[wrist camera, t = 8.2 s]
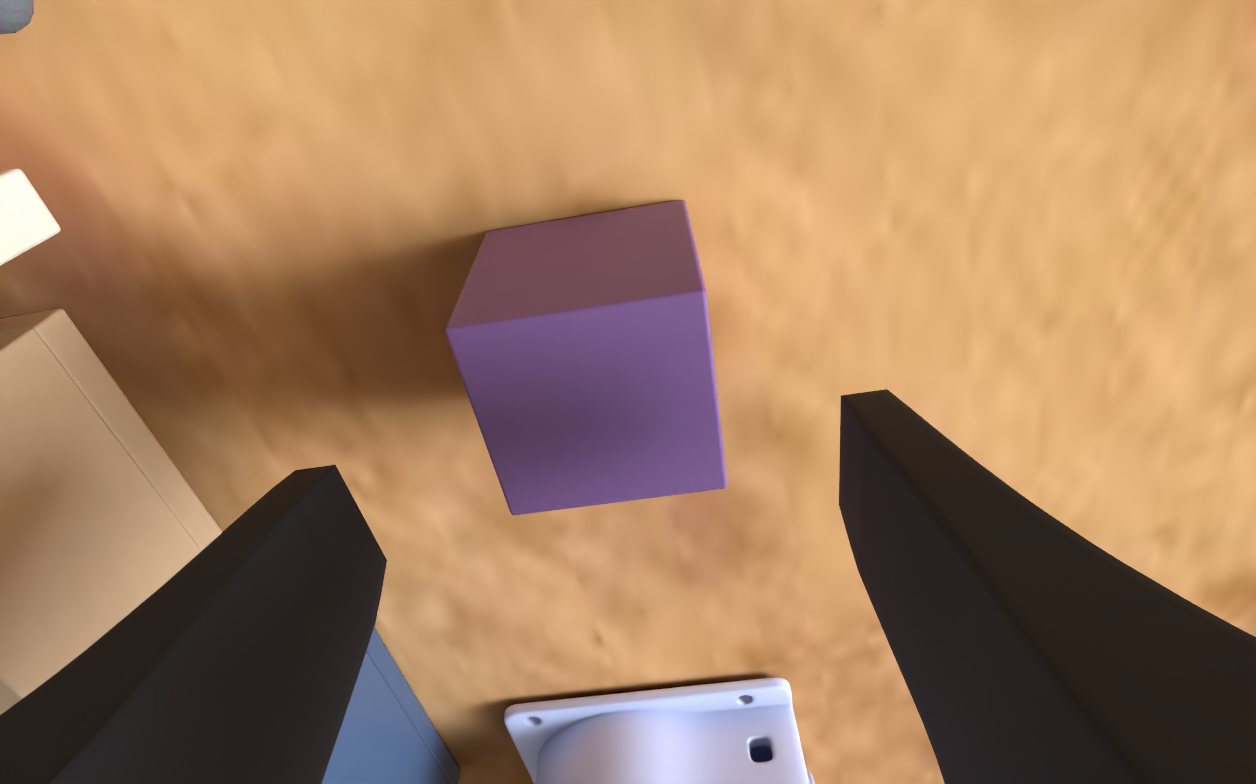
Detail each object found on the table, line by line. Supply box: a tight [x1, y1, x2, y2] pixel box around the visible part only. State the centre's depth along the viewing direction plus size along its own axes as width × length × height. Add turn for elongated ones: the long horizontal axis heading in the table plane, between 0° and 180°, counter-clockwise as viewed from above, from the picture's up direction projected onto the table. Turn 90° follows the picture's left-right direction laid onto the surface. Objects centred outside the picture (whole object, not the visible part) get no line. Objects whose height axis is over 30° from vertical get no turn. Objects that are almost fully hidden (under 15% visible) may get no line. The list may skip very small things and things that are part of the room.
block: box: [445, 200, 727, 515], centre depth 13 cm, size 4×4×4 cm
